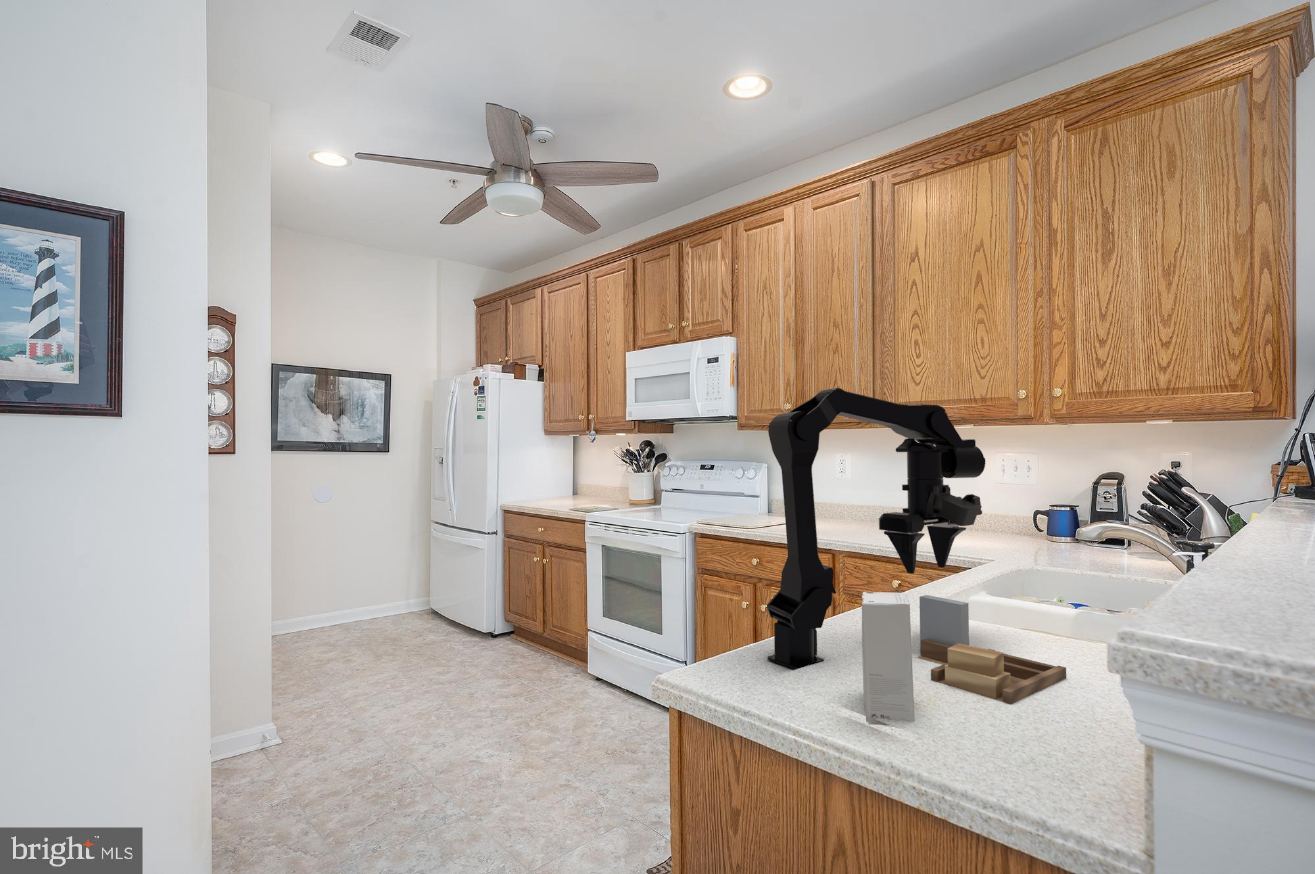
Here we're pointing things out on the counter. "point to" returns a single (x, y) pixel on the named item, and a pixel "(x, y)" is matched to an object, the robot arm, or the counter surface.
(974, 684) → the offcut
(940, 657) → the stand
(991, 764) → the counter surface
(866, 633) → the skincare box
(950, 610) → the gray rectangular block
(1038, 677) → the rack
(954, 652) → the offcut
